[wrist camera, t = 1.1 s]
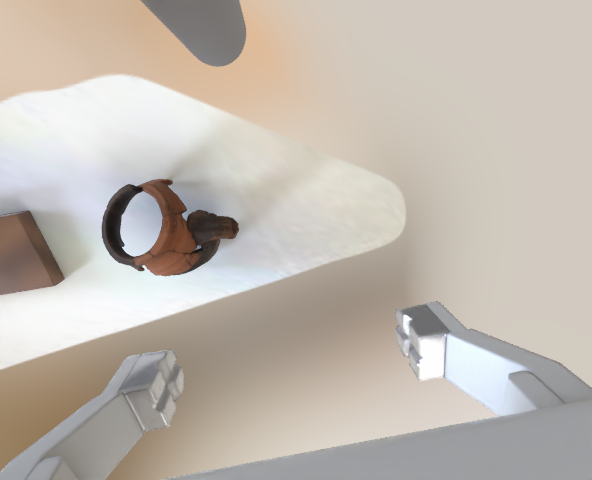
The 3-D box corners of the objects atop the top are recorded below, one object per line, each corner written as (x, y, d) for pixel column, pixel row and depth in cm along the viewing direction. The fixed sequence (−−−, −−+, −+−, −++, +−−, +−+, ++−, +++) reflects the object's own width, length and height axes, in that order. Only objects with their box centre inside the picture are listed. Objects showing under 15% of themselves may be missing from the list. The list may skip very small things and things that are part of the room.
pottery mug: (164, 277, 32) (95, 284, 24) (157, 198, 33) (89, 179, 25) (259, 265, 29) (217, 267, 21) (249, 178, 30) (205, 149, 22)
